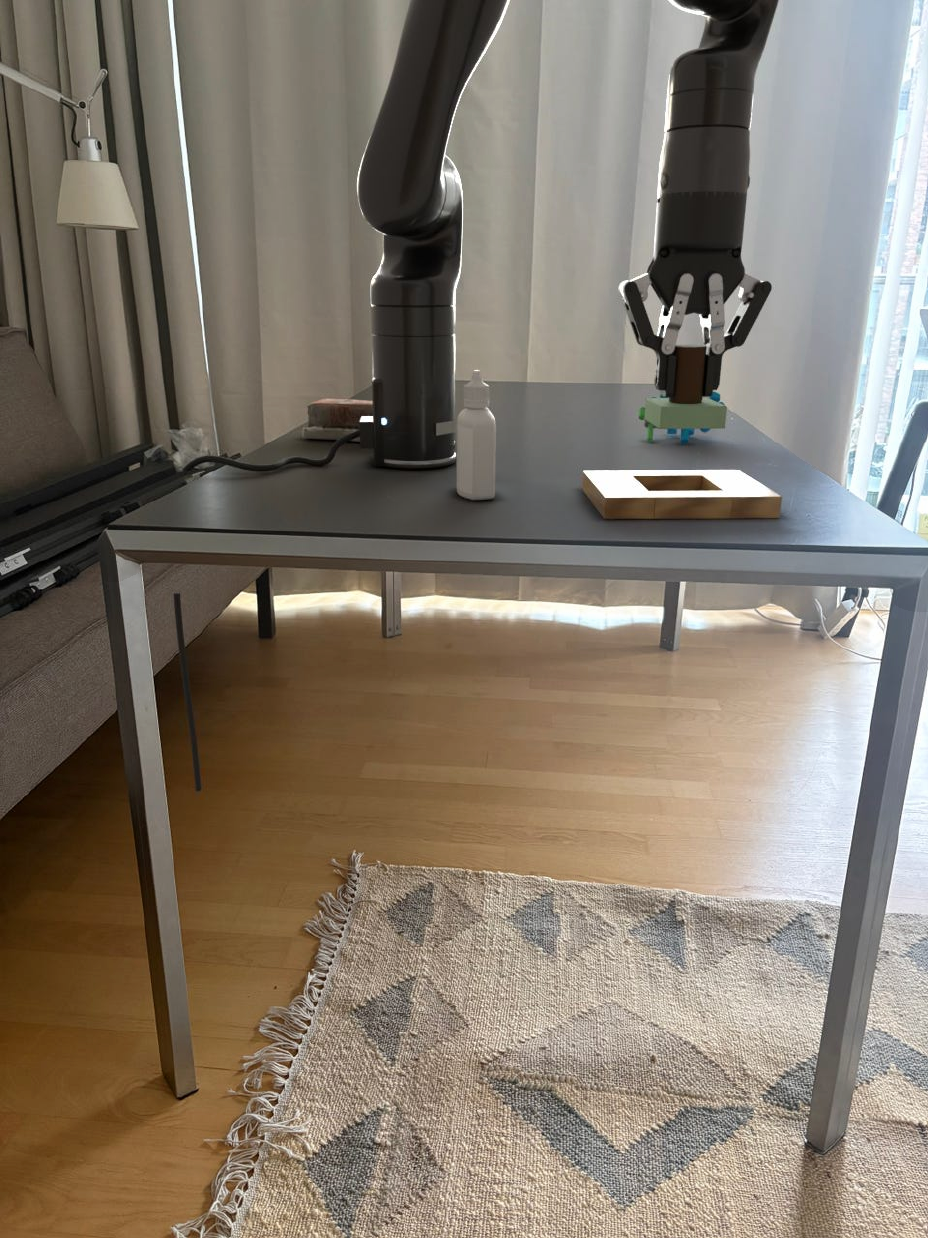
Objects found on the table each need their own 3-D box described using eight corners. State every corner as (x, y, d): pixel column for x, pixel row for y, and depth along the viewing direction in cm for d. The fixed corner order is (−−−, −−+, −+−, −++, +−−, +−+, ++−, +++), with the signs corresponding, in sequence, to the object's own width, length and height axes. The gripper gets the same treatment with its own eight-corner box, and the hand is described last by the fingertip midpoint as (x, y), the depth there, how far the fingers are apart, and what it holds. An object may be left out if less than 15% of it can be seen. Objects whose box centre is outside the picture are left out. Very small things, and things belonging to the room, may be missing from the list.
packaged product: (298, 402, 120) (326, 393, 129) (300, 440, 122) (328, 428, 131) (432, 407, 116) (452, 397, 125) (433, 446, 118) (452, 434, 127)
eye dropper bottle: (447, 500, 90) (447, 372, 86) (459, 487, 95) (460, 367, 91) (491, 502, 89) (494, 373, 85) (502, 490, 95) (504, 368, 90)
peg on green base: (659, 428, 84) (665, 348, 82) (644, 419, 90) (649, 343, 87) (725, 428, 84) (732, 348, 82) (705, 418, 90) (712, 343, 88)
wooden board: (604, 519, 84) (605, 497, 83) (582, 490, 95) (583, 470, 94) (779, 518, 84) (782, 496, 84) (737, 489, 96) (739, 469, 95)
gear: (728, 424, 125) (722, 375, 117) (727, 460, 123) (721, 413, 114) (645, 431, 129) (634, 384, 121) (643, 466, 127) (631, 421, 118)
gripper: (767, 194, 84) (746, 390, 90) (612, 194, 83) (602, 391, 89) (799, 187, 77) (775, 400, 83) (630, 186, 76) (618, 401, 82)
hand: (685, 394), depth 86 cm, fingers closed on peg on green base, 3 cm apart
